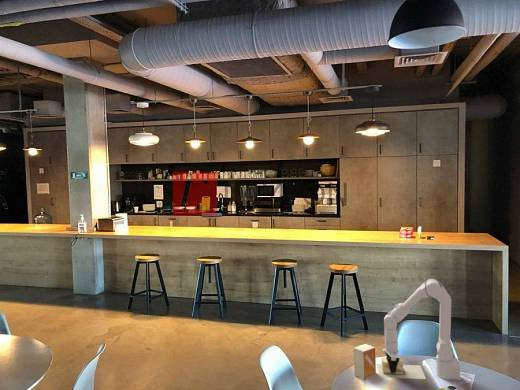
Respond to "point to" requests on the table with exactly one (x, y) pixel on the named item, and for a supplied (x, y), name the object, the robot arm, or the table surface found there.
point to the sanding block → (387, 368)
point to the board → (404, 372)
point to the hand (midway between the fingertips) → (392, 369)
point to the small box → (364, 361)
